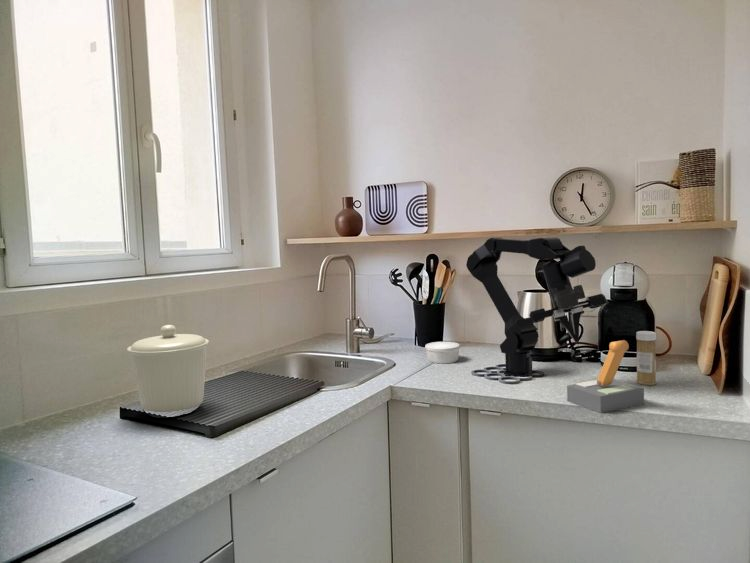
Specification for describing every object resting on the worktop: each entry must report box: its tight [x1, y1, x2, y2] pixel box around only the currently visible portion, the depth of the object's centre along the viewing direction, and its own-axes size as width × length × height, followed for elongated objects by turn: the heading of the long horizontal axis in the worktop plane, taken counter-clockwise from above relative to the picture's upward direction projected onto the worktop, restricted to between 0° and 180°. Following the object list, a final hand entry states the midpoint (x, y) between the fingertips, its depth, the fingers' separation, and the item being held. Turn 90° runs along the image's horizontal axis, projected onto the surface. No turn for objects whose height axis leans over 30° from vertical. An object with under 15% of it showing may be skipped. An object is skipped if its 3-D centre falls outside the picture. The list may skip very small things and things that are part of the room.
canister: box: [126, 324, 210, 412], centre depth 124 cm, size 18×18×21 cm
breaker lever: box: [596, 339, 630, 387], centre depth 117 cm, size 2×3×12 cm
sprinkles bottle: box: [635, 330, 657, 386], centre depth 134 cm, size 5×5×14 cm
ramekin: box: [424, 341, 461, 365], centre depth 168 cm, size 11×11×5 cm
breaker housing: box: [566, 379, 645, 414], centre depth 120 cm, size 10×13×4 cm
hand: (576, 341), depth 132 cm, fingers closed
